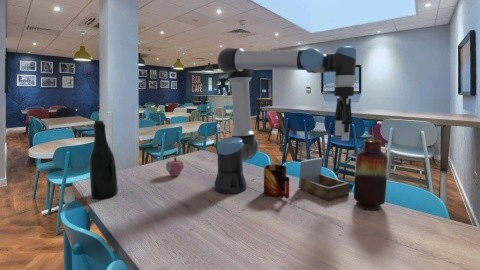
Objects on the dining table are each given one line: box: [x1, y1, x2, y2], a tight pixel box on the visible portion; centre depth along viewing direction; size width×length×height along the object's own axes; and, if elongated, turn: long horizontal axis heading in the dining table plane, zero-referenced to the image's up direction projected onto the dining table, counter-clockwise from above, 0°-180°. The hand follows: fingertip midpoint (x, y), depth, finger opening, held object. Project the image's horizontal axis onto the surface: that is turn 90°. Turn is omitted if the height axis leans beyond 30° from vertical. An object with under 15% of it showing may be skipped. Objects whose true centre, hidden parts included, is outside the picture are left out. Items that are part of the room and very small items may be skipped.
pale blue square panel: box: [297, 157, 323, 190], centre depth 126 cm, size 13×13×1 cm
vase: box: [353, 138, 389, 212], centre depth 103 cm, size 11×11×26 cm
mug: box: [263, 164, 290, 199], centre depth 117 cm, size 10×14×12 cm
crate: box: [300, 173, 350, 202], centre depth 119 cm, size 16×13×6 cm
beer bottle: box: [88, 120, 119, 200], centre depth 116 cm, size 10×10×33 cm
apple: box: [165, 156, 185, 177], centre depth 145 cm, size 10×9×10 cm
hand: (341, 137), depth 113 cm, fingers open, 13 cm apart
